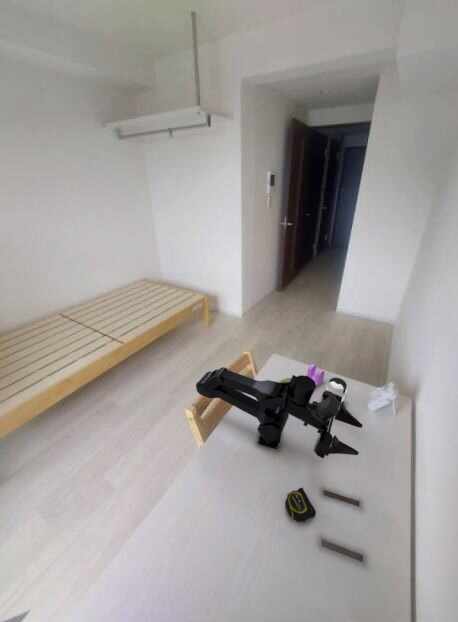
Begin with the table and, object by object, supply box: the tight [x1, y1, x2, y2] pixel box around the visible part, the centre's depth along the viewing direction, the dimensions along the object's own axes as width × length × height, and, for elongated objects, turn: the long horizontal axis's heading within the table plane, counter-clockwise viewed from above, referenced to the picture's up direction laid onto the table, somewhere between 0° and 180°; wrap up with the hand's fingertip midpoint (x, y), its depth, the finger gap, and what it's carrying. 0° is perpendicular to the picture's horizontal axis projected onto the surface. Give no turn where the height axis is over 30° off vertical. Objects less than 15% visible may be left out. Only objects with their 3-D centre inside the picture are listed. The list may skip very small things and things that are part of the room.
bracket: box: [306, 363, 326, 388], centre depth 111 cm, size 13×6×7 cm, turn 128°
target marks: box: [321, 489, 364, 562], centre depth 69 cm, size 9×13×1 cm
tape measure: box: [284, 487, 317, 523], centre depth 71 cm, size 7×7×4 cm
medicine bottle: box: [321, 377, 349, 405], centre depth 101 cm, size 7×7×12 cm
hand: (360, 439), depth 73 cm, fingers open, 9 cm apart
